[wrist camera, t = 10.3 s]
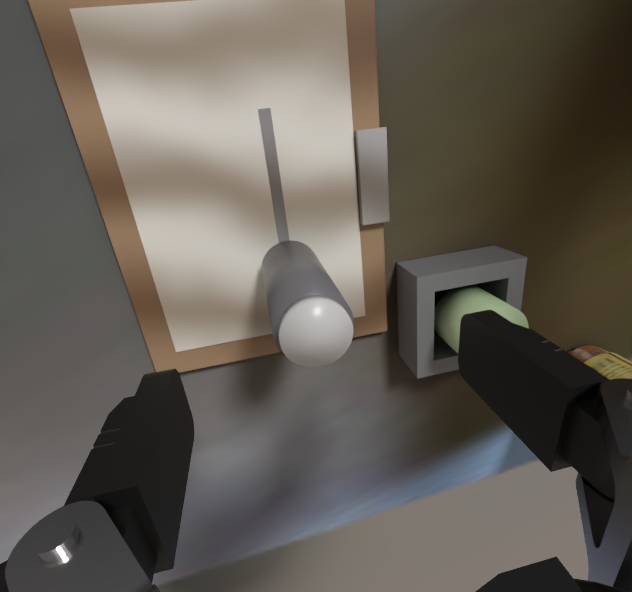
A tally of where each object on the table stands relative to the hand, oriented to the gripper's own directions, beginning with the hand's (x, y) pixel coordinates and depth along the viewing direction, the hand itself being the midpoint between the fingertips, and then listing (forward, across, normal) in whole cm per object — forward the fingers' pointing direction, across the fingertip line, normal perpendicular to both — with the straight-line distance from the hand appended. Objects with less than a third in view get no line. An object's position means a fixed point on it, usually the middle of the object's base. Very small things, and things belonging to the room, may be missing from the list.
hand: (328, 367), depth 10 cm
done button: (+11, -11, +5) cm, 16 cm away
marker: (+12, 0, +1) cm, 12 cm away
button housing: (+12, -11, +6) cm, 17 cm away
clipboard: (+13, +1, -3) cm, 13 cm away
